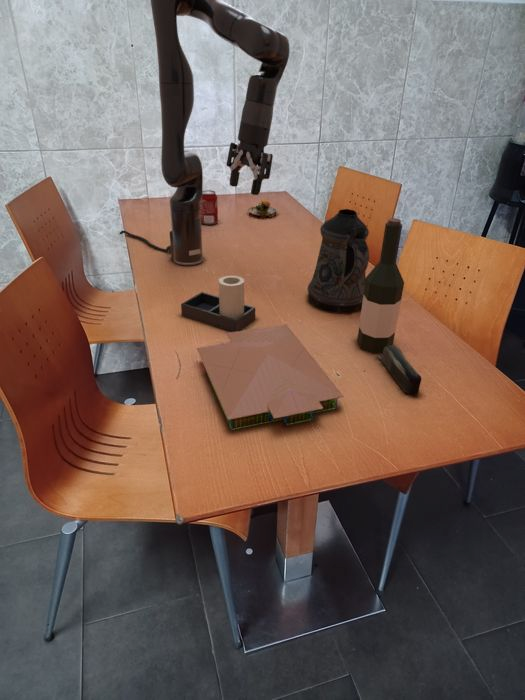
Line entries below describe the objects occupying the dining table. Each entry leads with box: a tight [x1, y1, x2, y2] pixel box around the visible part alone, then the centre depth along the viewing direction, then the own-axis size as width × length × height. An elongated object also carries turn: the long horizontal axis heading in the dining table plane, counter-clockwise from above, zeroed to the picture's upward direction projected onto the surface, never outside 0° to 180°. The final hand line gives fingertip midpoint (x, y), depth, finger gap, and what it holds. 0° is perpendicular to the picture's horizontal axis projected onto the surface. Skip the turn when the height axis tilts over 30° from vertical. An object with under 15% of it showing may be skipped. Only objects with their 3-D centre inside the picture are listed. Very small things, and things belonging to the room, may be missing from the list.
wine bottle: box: [356, 217, 405, 354], centre depth 111 cm, size 8×8×30 cm
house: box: [196, 323, 345, 431], centre depth 103 cm, size 23×33×8 cm
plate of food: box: [247, 196, 277, 220], centre depth 206 cm, size 12×12×8 cm
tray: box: [180, 291, 256, 332], centre depth 128 cm, size 17×9×3 cm, turn 59°
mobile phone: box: [377, 344, 422, 396], centre depth 106 cm, size 5×3×15 cm
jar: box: [218, 275, 245, 320], centre depth 124 cm, size 6×6×10 cm
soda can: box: [200, 189, 219, 226], centre depth 193 cm, size 7×7×12 cm
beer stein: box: [307, 208, 370, 314], centre depth 132 cm, size 16×19×25 cm
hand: (243, 190), depth 130 cm, fingers open, 8 cm apart
